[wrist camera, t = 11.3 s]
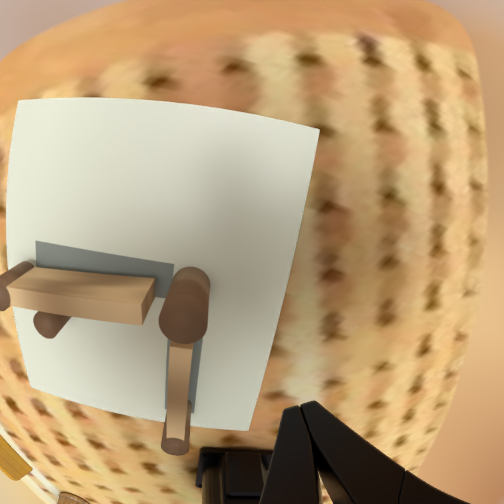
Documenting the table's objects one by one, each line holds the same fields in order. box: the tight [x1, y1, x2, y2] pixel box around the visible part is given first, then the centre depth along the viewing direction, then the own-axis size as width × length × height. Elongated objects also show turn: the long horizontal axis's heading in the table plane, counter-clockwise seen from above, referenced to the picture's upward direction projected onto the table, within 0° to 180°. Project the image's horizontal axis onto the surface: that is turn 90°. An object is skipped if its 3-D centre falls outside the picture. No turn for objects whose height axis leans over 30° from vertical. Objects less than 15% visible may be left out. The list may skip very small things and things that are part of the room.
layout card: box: [6, 98, 320, 431], centre depth 16 cm, size 20×17×1 cm
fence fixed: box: [33, 267, 210, 456], centre depth 15 cm, size 11×9×4 cm
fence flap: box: [0, 261, 155, 325], centre depth 13 cm, size 9×2×3 cm, turn 85°
